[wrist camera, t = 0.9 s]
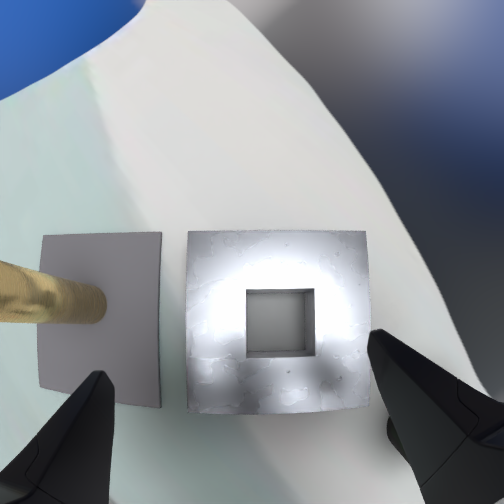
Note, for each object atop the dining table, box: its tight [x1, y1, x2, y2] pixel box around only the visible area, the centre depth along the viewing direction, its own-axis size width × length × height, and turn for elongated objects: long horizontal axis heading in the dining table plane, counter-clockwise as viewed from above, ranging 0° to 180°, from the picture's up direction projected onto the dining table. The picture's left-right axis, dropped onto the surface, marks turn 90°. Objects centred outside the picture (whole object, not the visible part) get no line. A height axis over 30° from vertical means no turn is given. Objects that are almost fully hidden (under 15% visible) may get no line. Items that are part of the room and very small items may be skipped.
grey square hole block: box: [186, 230, 371, 414], centre depth 22 cm, size 12×12×4 cm
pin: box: [0, 261, 107, 324], centre depth 16 cm, size 3×3×14 cm
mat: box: [37, 232, 162, 408], centre depth 23 cm, size 14×12×1 cm
